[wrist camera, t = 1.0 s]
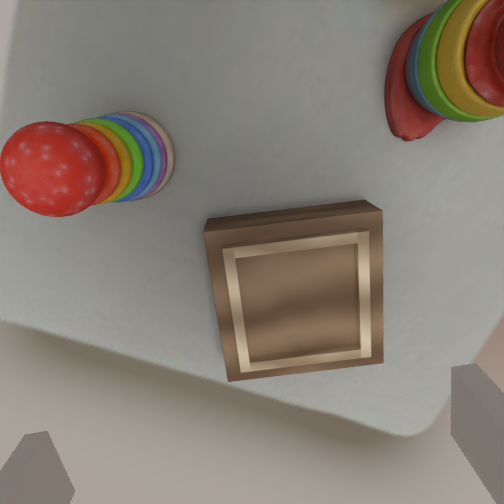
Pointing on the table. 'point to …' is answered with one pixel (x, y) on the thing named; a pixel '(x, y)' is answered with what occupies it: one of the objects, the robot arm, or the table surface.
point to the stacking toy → (86, 162)
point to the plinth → (298, 288)
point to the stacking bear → (447, 68)
